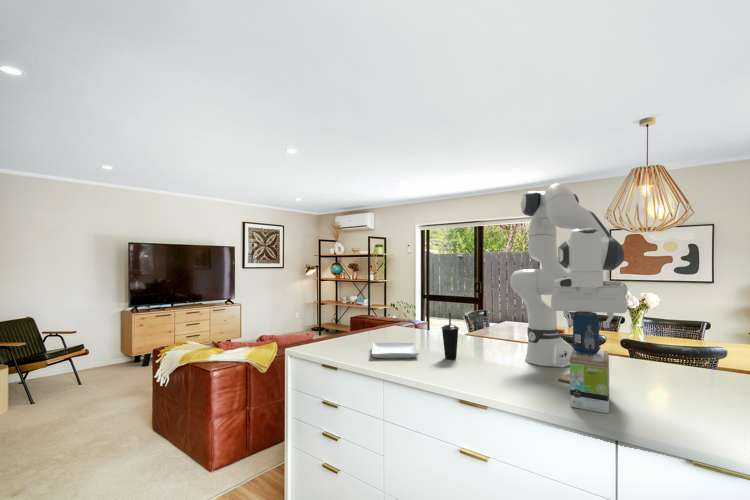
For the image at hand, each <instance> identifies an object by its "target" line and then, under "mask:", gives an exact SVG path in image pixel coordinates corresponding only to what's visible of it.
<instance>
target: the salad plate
mask: <svg viewBox="0 0 750 500" xmlns="http://www.w3.org/2000/svg"><path fill="white" fill-rule="evenodd" d="M371 349H372V350H371V355H372V356H373V357H375V358H376V359H377V358H378V359H410V358H412V359H413V358H417V356H419V354H420V351H419V349H418V346H417V344H416V343H415V342H372V348H371Z"/></svg>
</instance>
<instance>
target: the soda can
mask: <svg viewBox="0 0 750 500" xmlns="http://www.w3.org/2000/svg"><path fill="white" fill-rule="evenodd" d="M574 312H575V311H574ZM597 313H598V312H575V313H574V315H573V317H572V320H573V326H572V348H573V349H574V350H575V351H576V352H577V353H580V354H587V355H595V354H597V352H598V351H599V350H600V319H599V317H598V314H597Z"/></svg>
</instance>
